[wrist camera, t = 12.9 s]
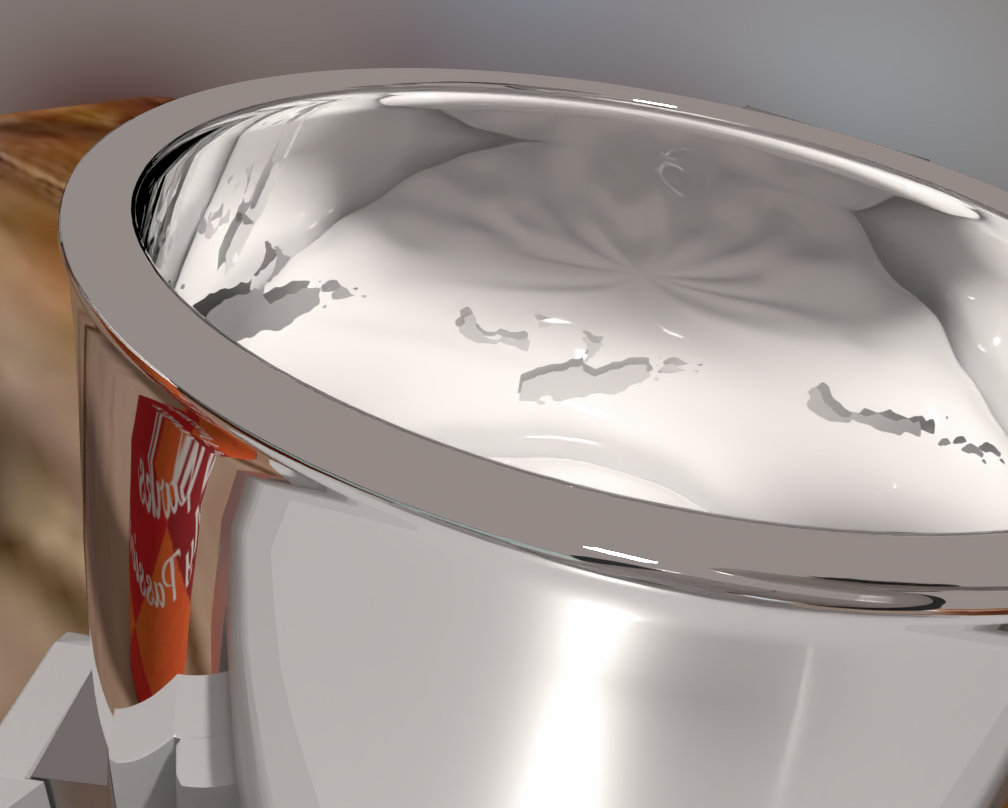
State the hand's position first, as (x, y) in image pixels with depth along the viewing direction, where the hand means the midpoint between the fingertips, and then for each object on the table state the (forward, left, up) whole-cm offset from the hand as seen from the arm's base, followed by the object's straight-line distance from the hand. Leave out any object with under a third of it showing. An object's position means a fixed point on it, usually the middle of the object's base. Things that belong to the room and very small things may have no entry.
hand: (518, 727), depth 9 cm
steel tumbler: (0, +1, -9) cm, 9 cm away
